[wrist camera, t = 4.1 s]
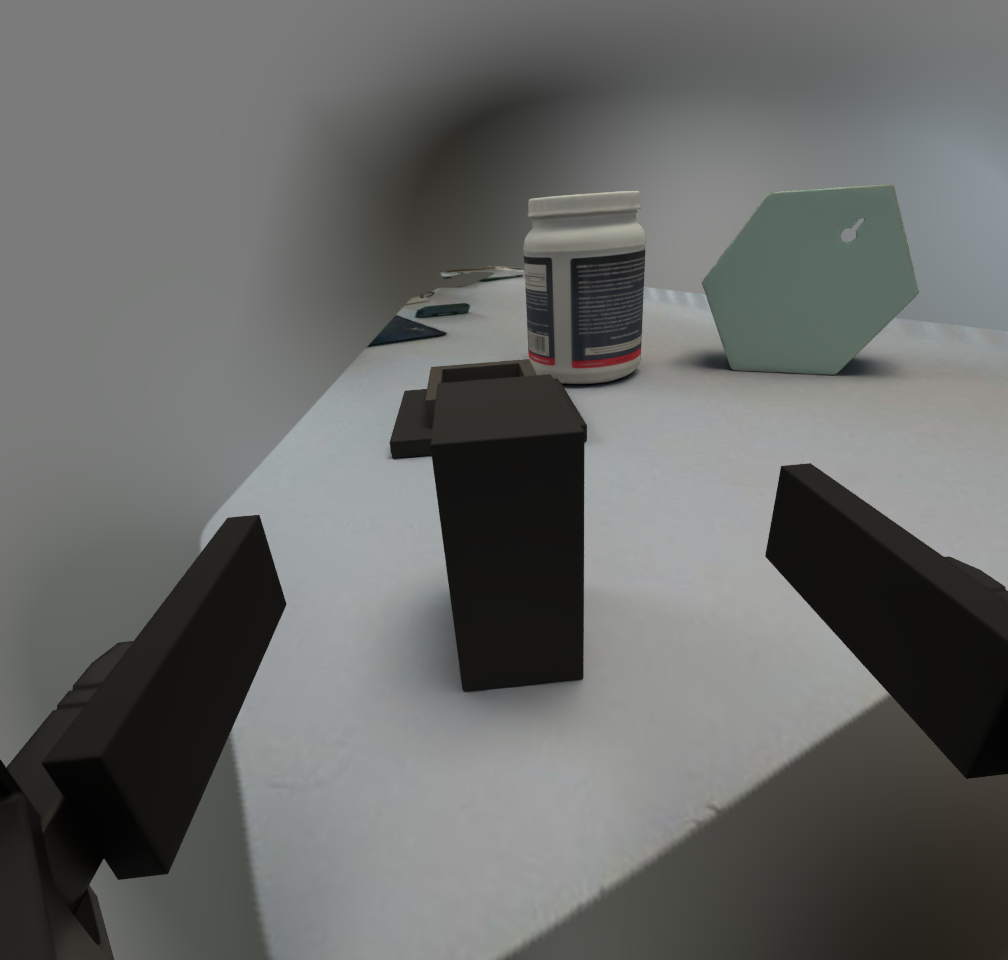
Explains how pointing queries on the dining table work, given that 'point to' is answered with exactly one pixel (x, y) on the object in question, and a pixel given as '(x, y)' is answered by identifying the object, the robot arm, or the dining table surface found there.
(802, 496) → the robot arm
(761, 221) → the green hexagonal block
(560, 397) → the tall dark brick
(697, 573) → the dining table surface
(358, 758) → the dining table surface
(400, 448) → the base pad
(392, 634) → the dining table surface
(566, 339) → the supplement tub
